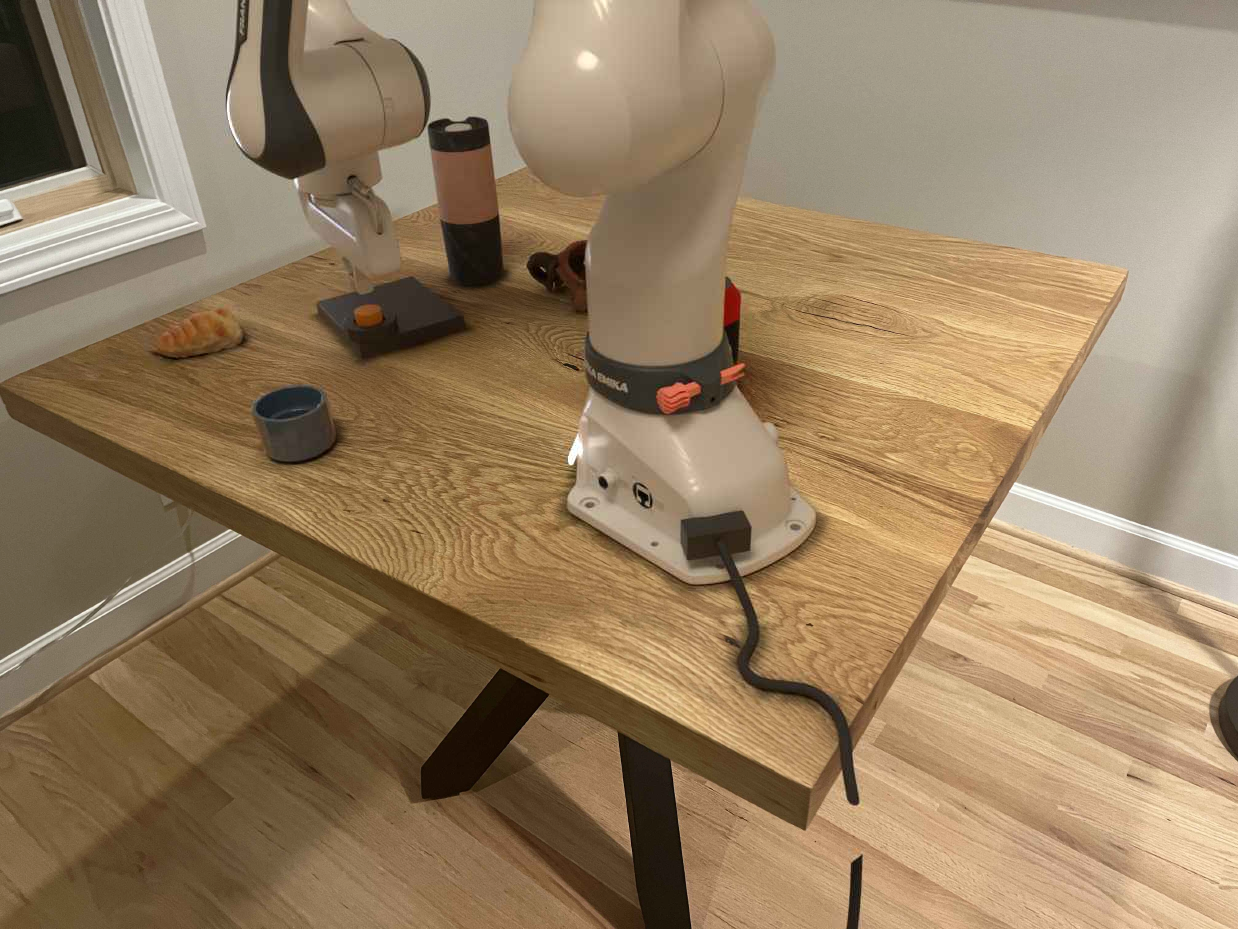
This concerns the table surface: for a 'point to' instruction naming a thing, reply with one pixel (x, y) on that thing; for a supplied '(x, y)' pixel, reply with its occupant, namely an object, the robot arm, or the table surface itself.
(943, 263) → the table surface
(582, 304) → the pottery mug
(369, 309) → the button
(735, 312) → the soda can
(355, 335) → the scale
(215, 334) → the pastry
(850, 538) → the table surface
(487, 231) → the travel mug
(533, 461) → the table surface
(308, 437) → the bowl
